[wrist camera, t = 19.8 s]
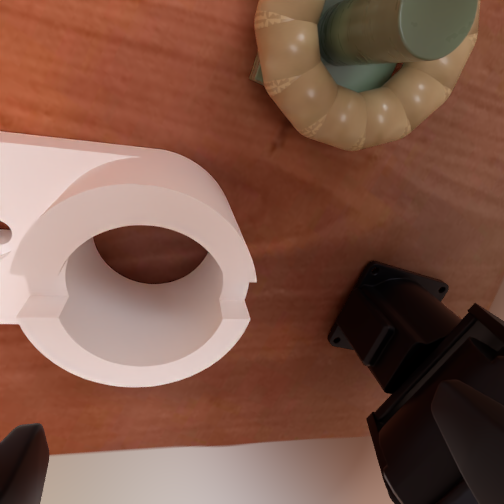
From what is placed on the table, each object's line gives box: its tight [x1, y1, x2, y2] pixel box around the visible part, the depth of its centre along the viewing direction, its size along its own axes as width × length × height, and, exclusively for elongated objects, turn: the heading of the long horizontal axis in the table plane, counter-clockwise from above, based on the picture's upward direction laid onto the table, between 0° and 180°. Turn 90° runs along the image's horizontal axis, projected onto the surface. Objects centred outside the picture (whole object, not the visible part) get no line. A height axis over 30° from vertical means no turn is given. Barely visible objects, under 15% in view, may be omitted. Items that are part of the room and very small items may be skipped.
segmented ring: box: [254, 0, 480, 151], centre depth 15 cm, size 9×9×2 cm
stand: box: [249, 0, 478, 93], centre depth 13 cm, size 6×6×8 cm
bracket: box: [0, 131, 257, 387], centre depth 15 cm, size 20×9×7 cm, turn 82°
